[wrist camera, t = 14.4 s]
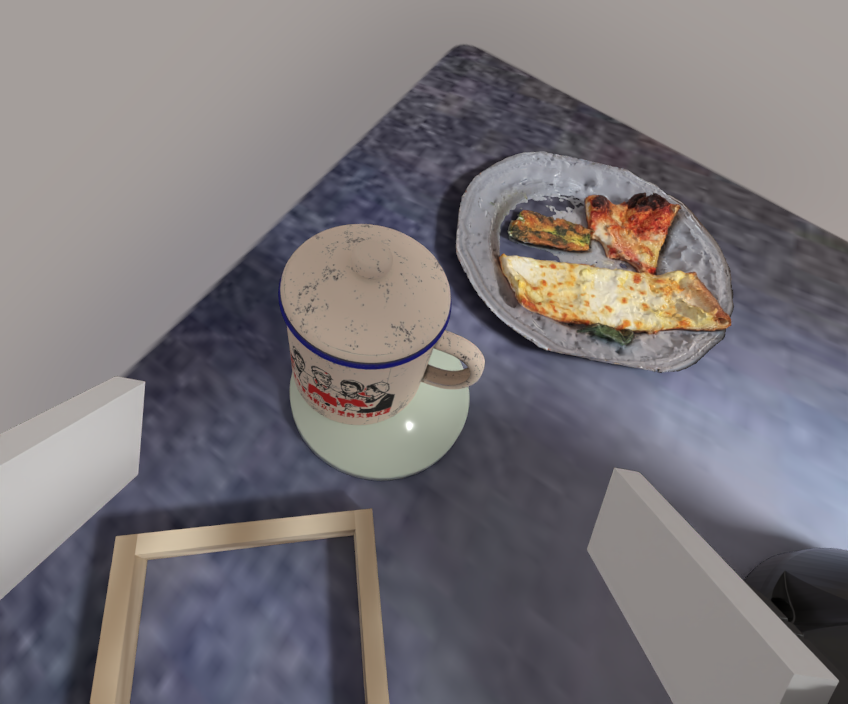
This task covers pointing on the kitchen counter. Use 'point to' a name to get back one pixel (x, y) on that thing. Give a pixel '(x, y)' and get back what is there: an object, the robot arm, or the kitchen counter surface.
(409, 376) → the teacup with lid
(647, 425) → the kitchen counter surface
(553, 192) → the food plate
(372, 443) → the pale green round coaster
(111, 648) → the wooden frame
